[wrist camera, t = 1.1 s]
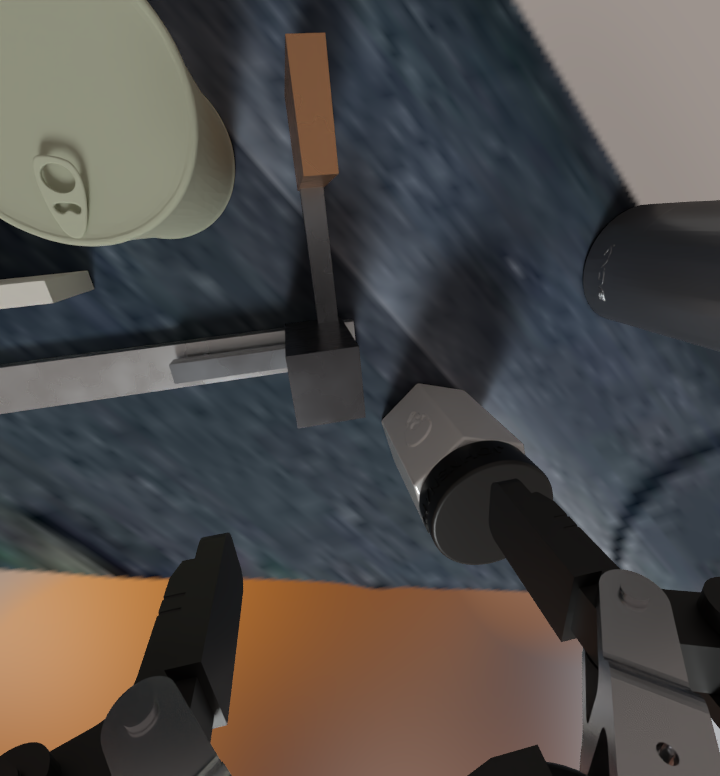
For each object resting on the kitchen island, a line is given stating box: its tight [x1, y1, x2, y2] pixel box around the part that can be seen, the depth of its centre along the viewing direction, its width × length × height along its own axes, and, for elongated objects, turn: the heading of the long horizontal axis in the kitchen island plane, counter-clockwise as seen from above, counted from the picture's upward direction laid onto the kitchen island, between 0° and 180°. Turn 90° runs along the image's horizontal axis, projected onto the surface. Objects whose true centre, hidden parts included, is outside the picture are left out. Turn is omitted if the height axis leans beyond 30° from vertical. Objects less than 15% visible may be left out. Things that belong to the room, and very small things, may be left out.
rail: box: [0, 319, 355, 414], centre depth 28 cm, size 26×3×1 cm, turn 95°
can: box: [0, 0, 235, 246], centre depth 18 cm, size 9×9×12 cm
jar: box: [382, 383, 553, 565], centre depth 29 cm, size 9×8×12 cm
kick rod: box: [169, 33, 365, 428], centre depth 22 cm, size 12×18×8 cm
